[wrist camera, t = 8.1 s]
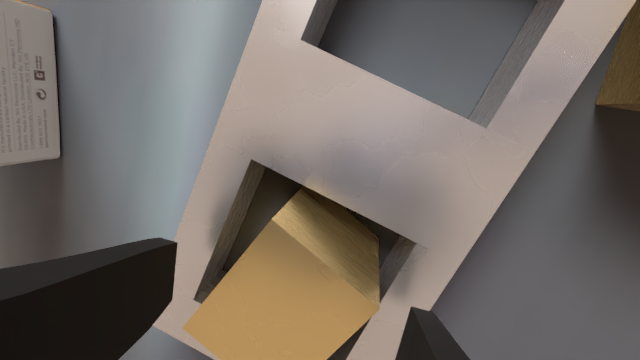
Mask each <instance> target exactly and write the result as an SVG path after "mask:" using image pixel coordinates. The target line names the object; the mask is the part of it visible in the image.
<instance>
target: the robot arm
mask: <svg viewBox="0 0 640 360" xmlns="http://www.w3.org/2000/svg"><path fill="white" fill-rule="evenodd" d="M177 244H178V243H177V242H174V241H170V240H166V239H163V238H153V239H147V240H141V241H136V242H132V243H127V244H123V245H118V246H114V247H110V248H105V249H101V250H96V251H92V252H88V253H83V254H78V255H73V256H69V257H64V258H59V259H54V260H49V261H44V262H39V263H34V264H28V265H22V266H16V267H10V268H3V269H0V360H118V359H119V358H120V357H121V356H122V355H123V354H124V353H125V352H126V351H127V350H129V349H130V348H131V347H132V346H133V345H134V344H135V343H136V342H137V341H138V340H139V339H140V338H141V337H142V336H143V335H144V334H145V333H146V332H147V331H148V330H149V329H150V328H151V326H152V325H153V324H154V323H155V321H156V320H157V319H158V318H159V317H160V315H161V314H162V313H163V311H164V310H165V309H166V308H167V306H168V305H169V304H170V302H171V301H172V298H173V287H174V276H175V265H176V254H177ZM395 360H470V359H469V358H468V357H467V355H466V354H465V353H464V351H463V350H462V349H461V348H460V346H459V345H458V344H457V342H456V341H455V340H454V338H453V337H452V336H451V334H450V333H449V332H448V331H447V329H446V328H445V327H444V325H443V324H442V323H441V321H440V320H439V319H438V318H437V316H436V315H435V314H434V313H433V312H430V311H427V310H423V309H419V308H416V307H412V306H411V308H410V311H409V315H408V318H407V321H406V325H405V328H404V332H403V335H402V338H401V342H400V345H399V348H398V352H397V355H396V358H395Z"/></svg>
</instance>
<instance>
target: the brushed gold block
mask: <svg viewBox="0 0 640 360" xmlns="http://www.w3.org/2000/svg"><path fill="white" fill-rule="evenodd" d="M378 310H380V299H379V239H378V236H377V235H376V234H375V233H373V232H372V231H371V230H370V229H369V228H367V227H366V226H365V225H364V224H363V223H362V222H360V221H359V220H358V219H357V218H356V217H354V216H353V215H352V214H351V213H350V212H348V211H347V210H346V209H345V208H344V207H342V206H341V205H340V204H339V203H337V202H335V201H333V200H331V199H329V198H327V197H325V196H323V195H321V194H319V193H317V192H315V191H313V190H311V189H309V188H307V187H305V186H303V187H302V188H301V189H300V190H299V191H298V192H297V193H296V194H295V195H294V196H293V197H292V198H291V199H290V200H289V201H288V202H287V203H286V205H285V206H284V207H283V208H282V209H281V210H280V211H279V212H278V213H277V214H276V215H275V216H274V217H273V218H272V219H271V220H270V222H269V223H268V224H267V225H266V226H265V228H264V229H263V230H262V231H261V233H260V234H259V235H258V236H257V237H256V239H255V240H254V241H253V242H252V243H251V245H250V246H249V247H248V248H247V250H246V251H245V252H244V253H243V254H242V256H241V257H240V258H239V259H238V261H237V262H236V263H235V264H234V265H233V267H232V268H231V269H230V270H229V271H228V273H227V274H226V275H225V276H224V278H223V279H222V280H221V281H220V282H219V284H218V285H217V286H216V287H215V289H214V290H213V291H212V292H211V293H210V295H209V296H208V297H207V298H206V299H205V301H204V302H203V303H202V304H201V306H200V307H199V308H198V309H197V310H196V312H195V313H194V314H193V315H192V317H191V318H190V319H189V320H188V321H187V323H186V324H185V325H184V326H183V329H184V330H185V331H186V332H188V333H189V334H190V335H191V336H192V337H194V338H195V339H196V340H197V341H198V342H200V343H201V344H202V345H203V346H204V347H206V348H207V349H208V350H209V351H210V352H212V353H213V354H214V355H215V356H216V357H218V358H219V359H220V360H327V359H328V358H329V357H330V356H331V355H332V354H333V353H334V352H335V351H336V350H337V349H338V348H339V347H340V346H341V345H343V344H344V343H345V342H346V341H347V340H348V339H349V338H350V337H351V336H352V335H353V334H354V333H355V332H356V331H357V330H358V329H359V328H361V327H362V326H363V325H364V324H365V323H366V322H367V321H368V320H369V319H370V318H371V317H372V316H373V315H374V314H375V313H376V312H377V311H378Z"/></svg>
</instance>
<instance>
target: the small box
mask: <svg viewBox="0 0 640 360" xmlns="http://www.w3.org/2000/svg"><path fill="white" fill-rule="evenodd" d="M59 157H60V133H59V114H58V97H57V77H56V60H55V47H54V32H53V17H52V13H51V11H50V10H48V9H45V8H42V7H39V6H35V5H32V4H29V3H26V2H22V1H19V0H0V166H6V165H13V164H20V163H27V162H33V161H40V160H48V159H56V158H59Z"/></svg>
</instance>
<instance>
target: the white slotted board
mask: <svg viewBox="0 0 640 360" xmlns="http://www.w3.org/2000/svg"><path fill="white" fill-rule="evenodd" d="M337 1H338V0H263V1H262V3H261V6H260V9H259V12H258V14H257V17H256V20H255V22H254V25H253V28H252V31H251V33H250V36H249V39H248V41H247V44H246V47H245V49H244V52H243V55H242V58H241V60H240V63H239V66H238V68H237V71H236V74H235V77H234V79H233V82H232V85H231V87H230V90H229V93H228V95H227V98H226V101H225V104H224V106H223V109H222V112H221V114H220V117H219V120H218V123H217V125H216V128H215V131H214V133H213V136H212V139H211V142H210V144H209V147H208V150H207V152H206V155H205V158H204V160H203V163H202V166H201V169H200V171H199V174H198V177H197V179H196V182H195V185H194V188H193V190H192V193H191V196H190V198H189V201H188V204H187V207H186V209H185V212H184V215H183V217H182V220H181V223H180V225H179V228H178V231H177V234H176V236H175V239H174V242H177V243H178V244H177V254H176V265H175V276H174V287H173V298H172V301H171V302H170V304H169V305H168V306H167V308H166V309H165V310H164V311H163V313H162V314H161V315H160V317H159V318H158V319H157V320H156V321H155V323H154V324H153V326H154V327H156V328H158V329H160V330H162V331H164V332H165V333H167V334H169V335H171V336H173V337H174V338H176V339H178V340H180V341H182V342H183V343H185V344H187V345H189V346H191V347H192V348H194V349H196V350H198V351H200V352H201V353H203V354H205V355H207V356H209V357H211V358H212V359H214V360H220V359H219V358H218V357H216V356H215V355H214V354H213V353H212V352H210V351H209V350H208V349H207V348H206V347H204V346H203V345H202V344H201V343H200V342H198V341H197V340H196V339H195V338H194V337H192V336H191V335H190V334H189V333H188V332H186V331H185V330H184V329H183V326H184V325H185V324H186V323H187V321H188V320H189V319H190V318H191V317H192V315H193V314H194V313H195V312H196V310H197V309H198V308H199V307H200V306H201V304H202V303H203V302H204V301H205V299H206V298H207V297H208V296H209V295H210V293H211V292H212V291H213V290H214V289H215V287H216V286H217V285H218V284H219V282H220V281H221V280H222V279H223V278H224V276H225V275H226V274H227V273H228V272H226V271H224V270H222V269H223V267H224V265H225V262H226V260H227V258H228V255H229V253H230V251H231V248H232V246H233V244H234V241H235V239H236V237H237V234H238V232H239V230H240V227H241V225H242V223H243V220H244V218H245V216H246V213H247V211H248V209H249V206H250V204H251V202H252V199H253V197H254V195H255V192H256V190H257V188H258V185H259V183H260V181H261V178H262V176H263V174H264V171H265V169H266V167H268V168H270V169H272V170H274V171H276V172H278V173H280V174H282V175H284V176H286V177H288V178H290V179H292V180H294V181H296V182H298V183H300V184H302V185H304V186H305V187H307V188H309V189H311V190H313V191H315V192H317V193H319V194H321V195H323V196H325V197H327V198H329V199H331V200H333V201H335V202H337V203H339V204H341V205H343V206H345V207H347V208H349V209H351V210H353V211H355V212H357V213H359V214H361V215H363V216H365V217H367V218H369V219H371V220H373V221H374V222H376V223H378V224H380V225H382V226H384V227H386V228H388V229H390V230H392V231H394V232H396V233H398V234H400V236H399V238H398V239H397V241H396V243H395V244H394V246H393V248H392V250H391V251H390V253H389V255H388V256H387V258H386V260H385V261H384V263H383V265H382V267H381V268H380V270H379V299H380V310H378V311H377V312H376V313H375V314H374V315H373V316H372V317H371V318H370V319H369V320H368V321H367V322H366V323H365V324H364V325H363V326H362V327H361V328H359V329H358V330H357V331H356V332H355V333H354V334H353V335H352V336H351V337H350V338H349V339H348V340H347V341H346V342H345V343H344V344H343V345H341V346H340V347H339V348H338V349H337V350H336V351H335V352H334V353H333V354H332V355H331V356H330V357H329V358H328V359H327V360H395V358H396V355H397V352H398V348H399V345H400V342H401V338H402V335H403V332H404V328H405V325H406V321H407V318H408V315H409V311H410V308H411V306H412V307H416V308H419V309H423V310H427V311H430V309H431V308H432V306H433V305H434V303H435V302H436V300H437V299H438V297H439V296H440V294H441V293H442V291H443V290H444V288H445V287H446V285H447V284H448V282H449V281H450V279H451V278H452V276H453V275H454V273H455V272H456V270H457V269H458V267H459V266H460V264H461V263H462V261H463V260H464V258H465V257H466V255H467V254H468V252H469V251H470V249H471V248H472V246H473V245H474V243H475V242H476V240H477V239H478V237H479V236H480V234H481V233H482V231H483V230H484V228H485V227H486V225H487V224H488V222H489V221H490V219H491V218H492V216H493V215H494V213H495V212H496V210H497V209H498V207H499V206H500V204H501V203H502V201H503V200H504V198H505V197H506V195H507V194H508V192H509V191H510V189H511V188H512V186H513V185H514V183H515V182H516V180H517V179H518V177H519V176H520V174H521V173H522V171H523V170H524V168H525V167H526V165H527V164H528V162H529V161H530V159H531V158H532V156H533V155H534V153H535V152H536V150H537V149H538V147H539V146H540V144H541V143H542V141H543V140H544V138H545V137H546V135H547V134H548V132H549V131H550V129H551V128H552V126H553V125H554V123H555V122H556V120H557V119H558V117H559V116H560V114H561V113H562V111H563V110H564V108H565V107H566V105H567V104H568V102H569V101H570V99H571V98H572V96H573V95H574V93H575V92H576V90H577V89H578V87H579V86H580V84H581V83H582V81H583V80H584V78H585V77H586V75H587V74H588V72H589V71H590V69H591V68H592V66H593V65H594V63H595V62H596V60H597V59H598V57H599V56H600V54H601V53H602V51H603V50H604V48H605V47H606V45H607V44H608V42H609V41H610V39H611V38H612V36H613V35H614V33H615V32H616V30H617V29H618V27H619V26H620V24H621V23H622V21H623V20H624V18H625V17H626V15H627V14H628V12H629V11H630V9H631V8H632V6H633V5H634V3H635V2H636V0H538V1H537V3H536V5H535V6H534V8H533V10H532V12H531V13H530V15H529V17H528V18H527V20H526V22H525V23H524V25H523V27H522V29H521V30H520V32H519V34H518V35H517V37H516V39H515V40H514V42H513V44H512V46H511V47H510V49H509V51H508V52H507V54H506V56H505V57H504V59H503V61H502V63H501V64H500V66H499V68H498V69H497V71H496V73H495V74H494V76H493V78H492V80H491V81H490V83H489V85H488V86H487V88H486V90H485V91H484V93H483V95H482V97H481V98H480V100H479V102H478V103H477V105H476V107H475V108H474V110H473V112H472V114H471V115H470V117H469V119H465V118H463V117H461V116H459V115H457V114H455V113H453V112H451V111H449V110H447V109H445V108H442V107H440V106H438V105H436V104H434V103H432V102H430V101H428V100H426V99H424V98H421V97H419V96H417V95H415V94H413V93H411V92H409V91H407V90H405V89H403V88H401V87H398V86H396V85H394V84H392V83H390V82H388V81H386V80H384V79H382V78H380V77H377V76H375V75H373V74H371V73H369V72H367V71H365V70H363V69H361V68H359V67H357V66H354V65H352V64H350V63H348V62H346V61H344V60H342V59H340V58H338V57H336V56H333V55H331V54H329V53H327V52H325V51H323V50H321V49H319V48H318V46H319V43H320V41H321V39H322V36H323V34H324V32H325V29H326V27H327V25H328V22H329V20H330V18H331V15H332V13H333V11H334V8H335V6H336V4H337Z"/></svg>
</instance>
